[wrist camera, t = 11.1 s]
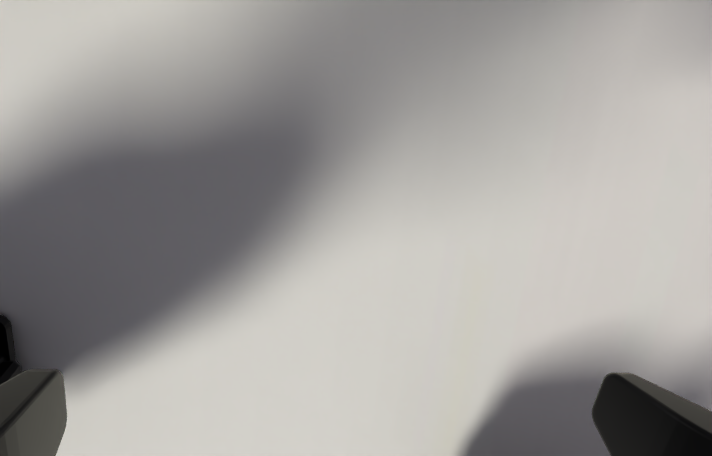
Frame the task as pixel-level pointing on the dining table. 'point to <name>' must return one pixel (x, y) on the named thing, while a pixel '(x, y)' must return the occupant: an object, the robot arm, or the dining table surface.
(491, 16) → the dining table surface
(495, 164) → the dining table surface
